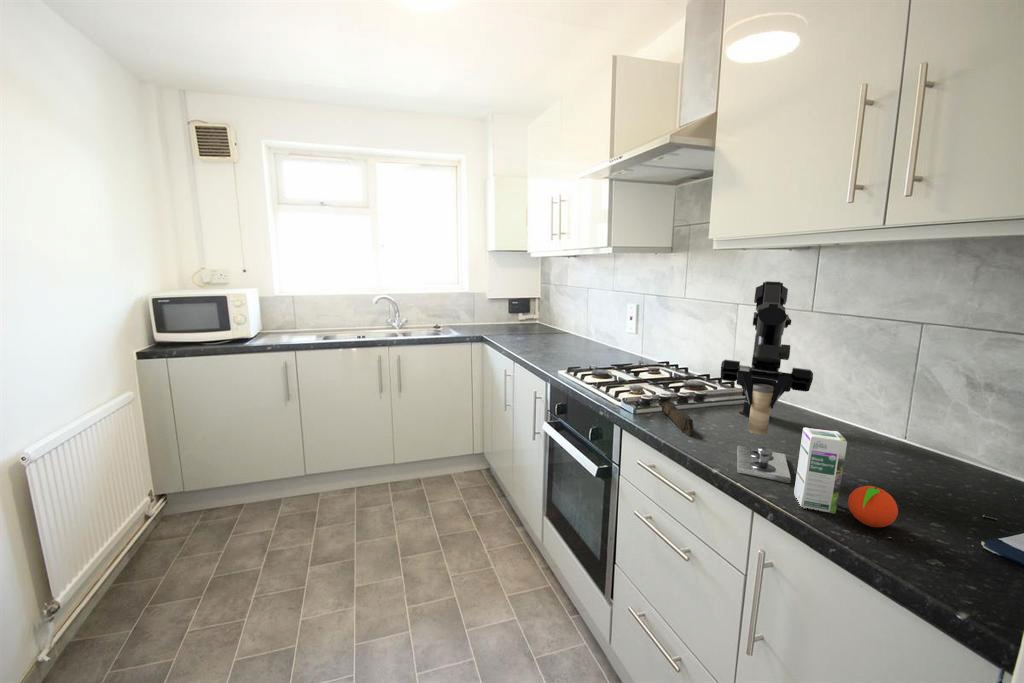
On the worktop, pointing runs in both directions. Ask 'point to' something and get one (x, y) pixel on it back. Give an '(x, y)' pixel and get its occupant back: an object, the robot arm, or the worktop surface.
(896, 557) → the worktop surface
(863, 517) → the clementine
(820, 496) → the syrup box
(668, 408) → the brown rough bar
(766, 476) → the plate
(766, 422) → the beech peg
